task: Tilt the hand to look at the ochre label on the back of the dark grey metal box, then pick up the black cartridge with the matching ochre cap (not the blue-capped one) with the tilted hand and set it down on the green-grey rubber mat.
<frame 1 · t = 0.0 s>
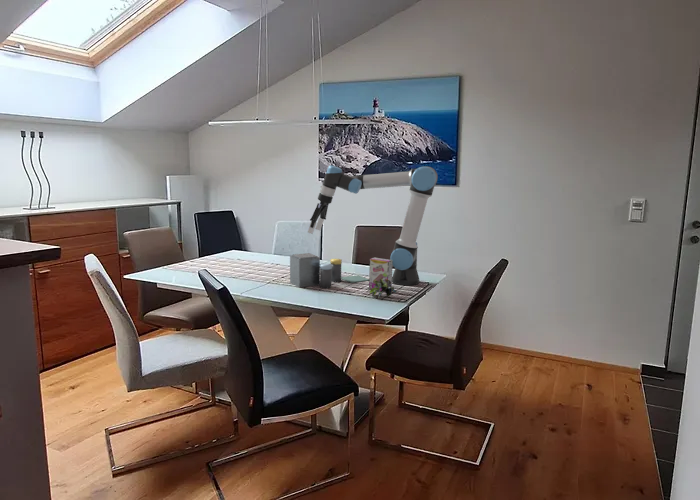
hand: (314, 231, 280), 28 cm above the table, tool tilted 20°, fingers open, 13 cm apart
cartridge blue: (325, 286, 273), on the table
mat: (354, 279, 290), on the table
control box: (304, 283, 279), on the table
candy bar box: (380, 290, 268), on the table
passion flower: (381, 297, 255), on the table
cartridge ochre: (335, 280, 287), on the table
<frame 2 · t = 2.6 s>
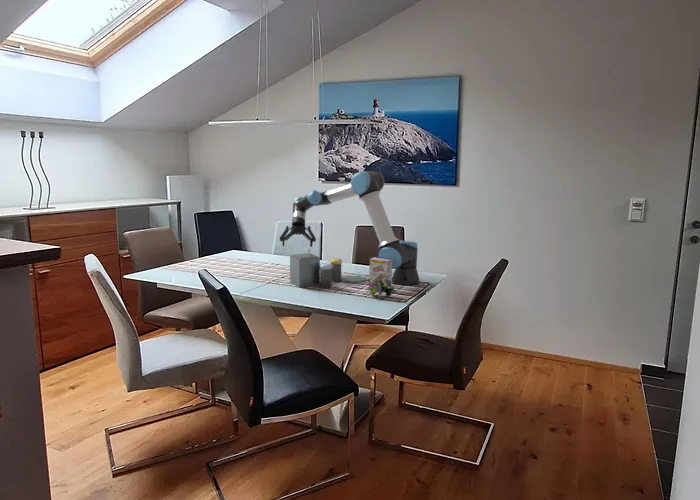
hand: (297, 251, 287), 16 cm above the table, tool tilted 45°, fingers open, 13 cm apart
nothing on the table moved.
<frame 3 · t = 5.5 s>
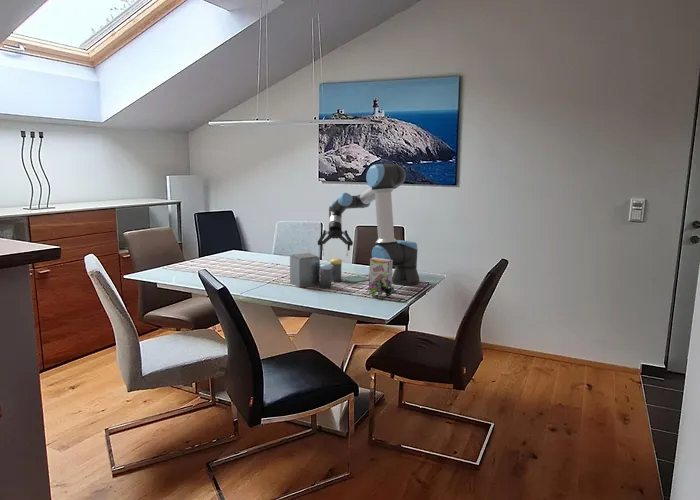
hand: (335, 254, 293), 13 cm above the table, tool tilted 45°, fingers open, 13 cm apart
nothing on the table moved.
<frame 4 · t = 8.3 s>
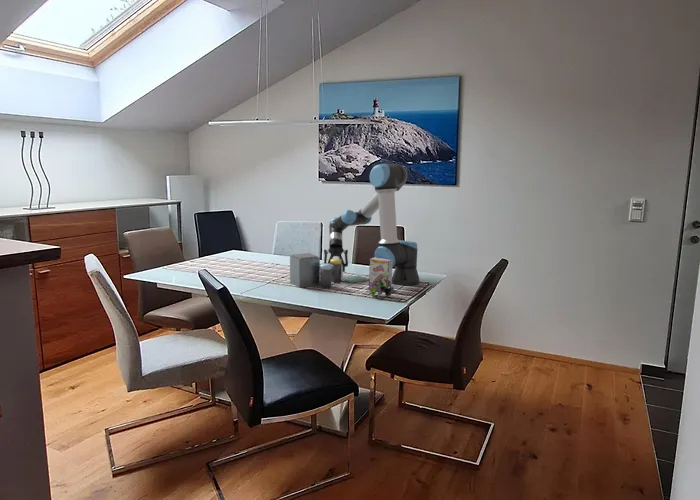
hand: (336, 276, 282), 3 cm above the table, tool tilted 45°, fingers closed on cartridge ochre, 6 cm apart
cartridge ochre: (335, 280, 287), on the table, touching gripper
everything else where it was.
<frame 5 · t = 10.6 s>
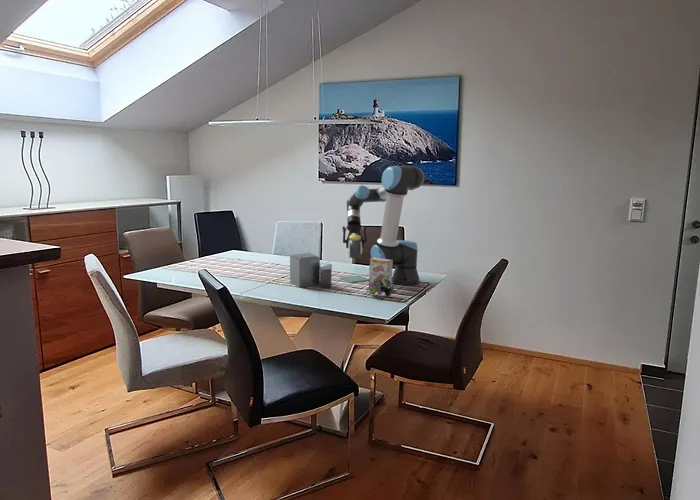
hand: (355, 252, 283), 16 cm above the table, tool tilted 45°, fingers closed on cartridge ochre, 6 cm apart
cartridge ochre: (354, 257, 288), point 13 cm above the table, touching gripper
everything else where it was.
when the fingers open (5 cm above the table, at t = 13.1 s): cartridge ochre drops 1 cm, resting on mat.
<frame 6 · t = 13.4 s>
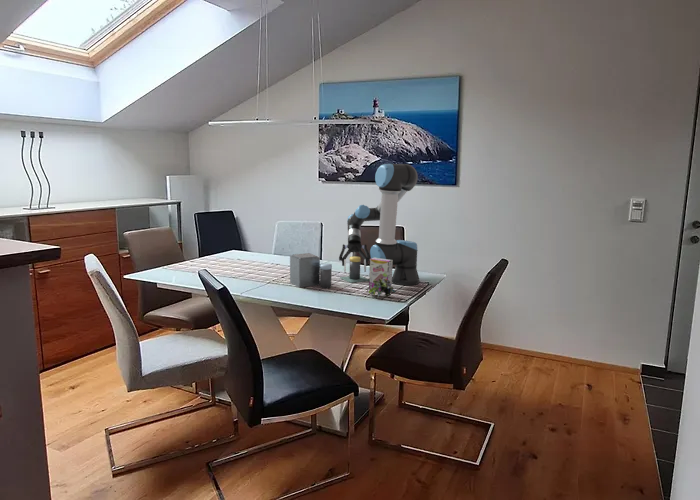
hand: (355, 270, 286), 6 cm above the table, tool tilted 45°, fingers open, 10 cm apart
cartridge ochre: (354, 278, 290), point 1 cm above the table, touching mat
everything else where it was.
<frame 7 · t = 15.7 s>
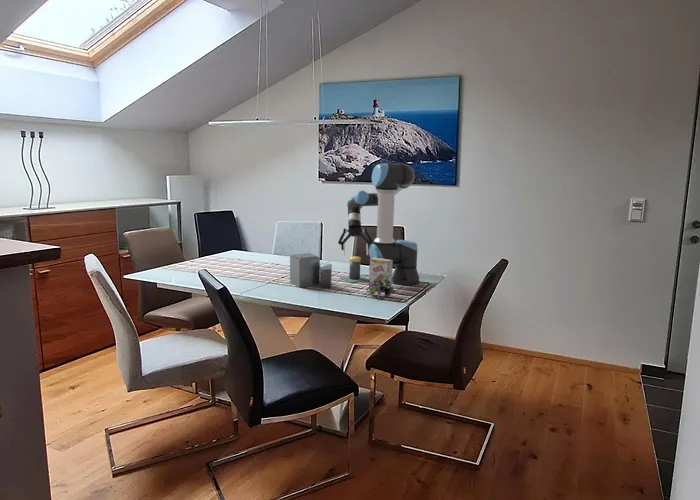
hand: (355, 254, 301), 12 cm above the table, tool tilted 35°, fingers open, 13 cm apart
nothing on the table moved.
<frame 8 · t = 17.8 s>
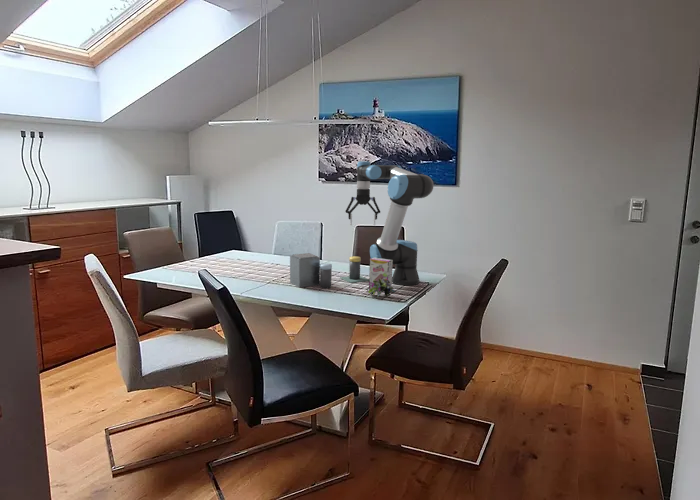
hand: (362, 225, 301), 29 cm above the table, tool pointing down, fingers open, 13 cm apart
nothing on the table moved.
at the end: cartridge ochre inside the target area on the mat (0.1 cm from its centre), point 0.6 cm above the mat's base; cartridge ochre tilted 1°; the gripper is holding nothing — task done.
